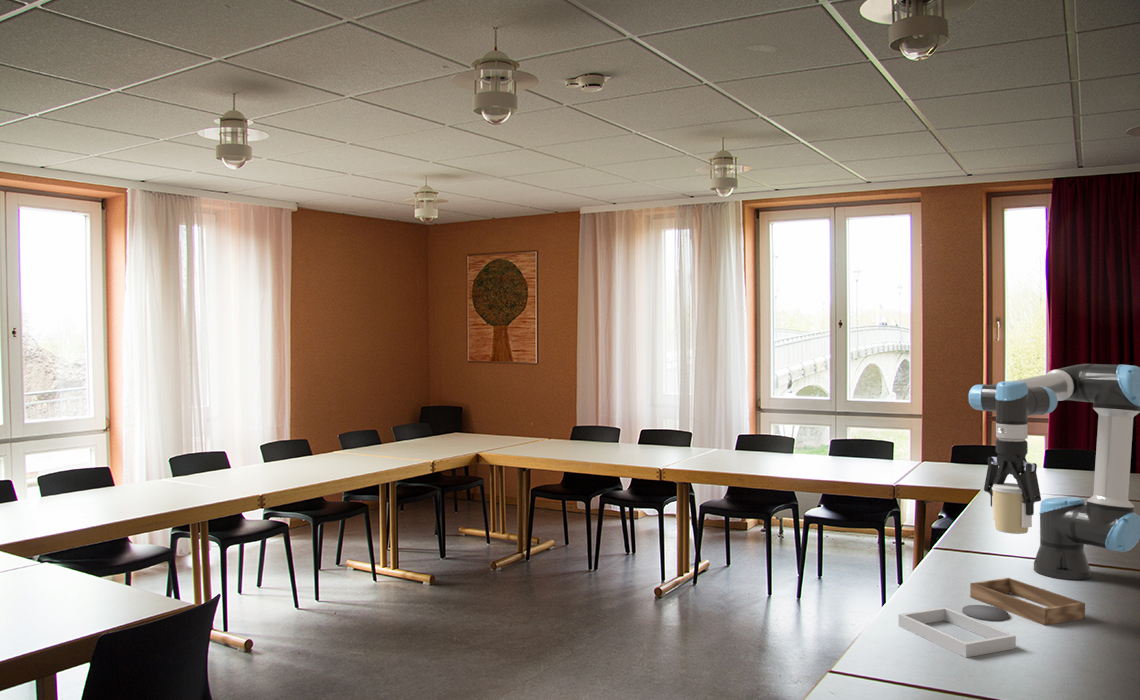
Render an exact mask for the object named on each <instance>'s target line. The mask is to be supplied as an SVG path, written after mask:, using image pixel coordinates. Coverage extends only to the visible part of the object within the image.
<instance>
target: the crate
mask: <svg viewBox="0 0 1140 700" xmlns="http://www.w3.org/2000/svg"><path fill="white" fill-rule="evenodd" d="M969 587H970V594H969V595H970V596H969V598H971V599H974V600H977V601H980V602H982V603H984V604H987V605H989V604H990V605H989V606H992V605H993V606H992V607H996V608H1000V609H1002V610H1005V611H1006V612H1008V613H1011V614H1013V615H1016V616H1018V617H1022V618H1024V619H1027V620H1030V621H1033V622H1034V623H1037V624H1039V625H1041V626H1049V625H1055V624H1060V623H1061V624H1062V623H1067V622H1072V621H1079V620H1084V619H1086V603H1085V602H1083V601H1079V600H1078V599H1077V600H1076V599H1073V598H1072V597H1071V598H1070V597H1068V596H1065V595H1061V594H1059V593H1056V592H1053V591H1050V590H1046V589H1044V588H1040V587H1038V586H1035V585H1032V584H1029V583H1026V582H1024V581H1020V580H1016V579H1013V578H1011V577H1004V578H998V579H990V580H983V581H976V582H970V586H969ZM1005 593H1006V594H1005ZM1009 594H1010V595H1009ZM1011 595H1014V596H1016V597H1014V596H1011ZM1017 597H1019V598H1017ZM1020 598H1022V599H1024V598H1025V600H1028V601H1025V600H1022V599H1020ZM1029 601H1030V602H1029ZM1031 602H1033V603H1031ZM1034 603H1037V604H1039V605H1036V604H1034ZM1040 605H1041V606H1040ZM1043 606H1045V607H1043Z"/></svg>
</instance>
